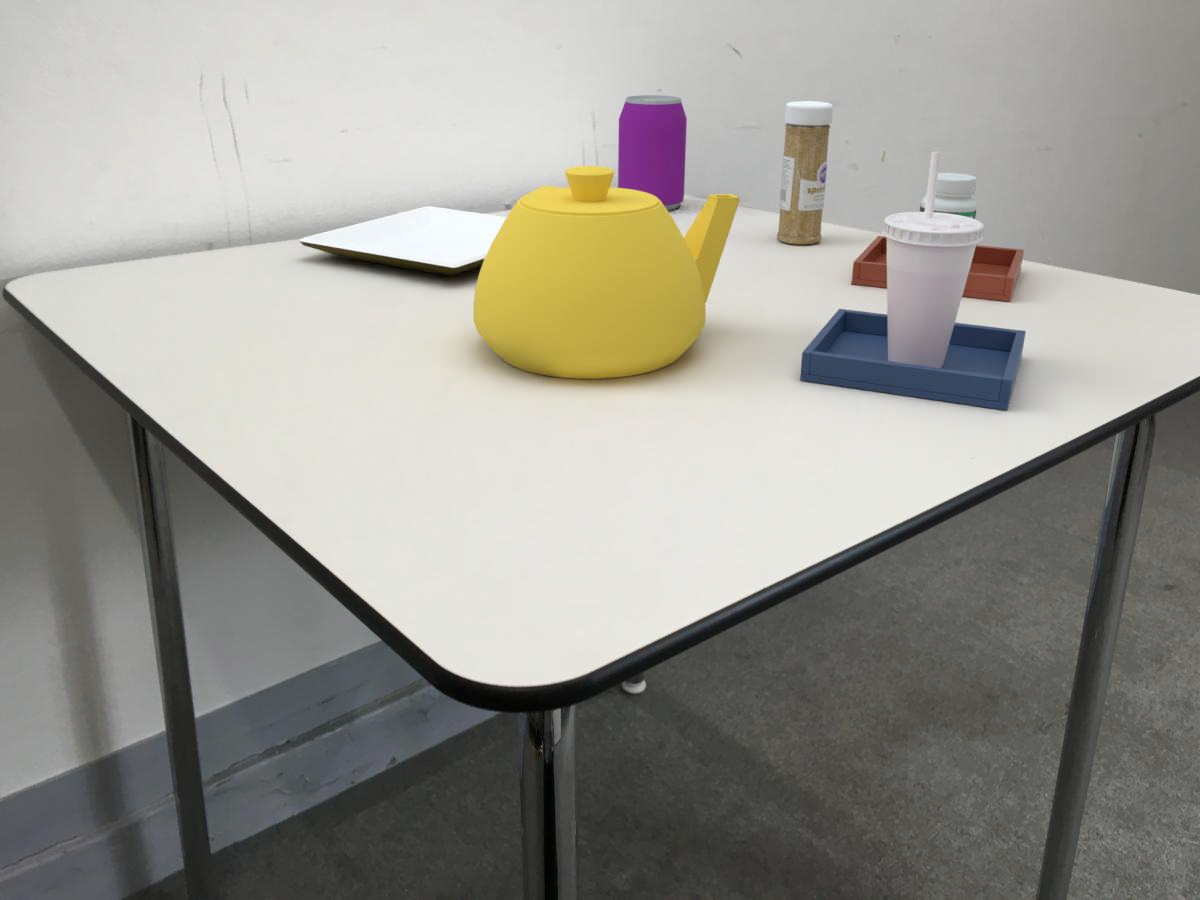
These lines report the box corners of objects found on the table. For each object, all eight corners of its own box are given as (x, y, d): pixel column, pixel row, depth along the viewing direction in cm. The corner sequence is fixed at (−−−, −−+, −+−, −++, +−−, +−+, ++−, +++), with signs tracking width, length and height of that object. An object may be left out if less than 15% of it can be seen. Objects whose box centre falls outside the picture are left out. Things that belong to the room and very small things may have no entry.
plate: (299, 260, 102) (296, 238, 101) (428, 224, 117) (427, 205, 116) (456, 288, 93) (454, 265, 92) (574, 246, 108) (574, 225, 107)
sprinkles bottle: (818, 247, 108) (830, 106, 103) (772, 243, 109) (782, 104, 104) (823, 237, 112) (836, 101, 107) (779, 234, 113) (789, 99, 108)
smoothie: (920, 342, 79) (946, 143, 73) (984, 369, 74) (1018, 157, 68) (848, 354, 76) (869, 149, 71) (910, 383, 71) (938, 164, 65)
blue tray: (1021, 357, 78) (1025, 330, 77) (1007, 410, 68) (1012, 380, 67) (836, 333, 82) (839, 308, 82) (799, 380, 73) (802, 352, 72)
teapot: (525, 401, 69) (520, 198, 64) (435, 321, 85) (425, 153, 80) (789, 359, 77) (804, 175, 72) (662, 293, 93) (667, 138, 87)
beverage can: (688, 201, 129) (692, 95, 124) (677, 214, 122) (681, 102, 118) (625, 198, 131) (626, 93, 126) (611, 210, 124) (612, 100, 119)
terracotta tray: (1020, 271, 100) (1024, 249, 99) (1009, 301, 91) (1013, 278, 90) (875, 256, 105) (877, 235, 104) (851, 284, 96) (853, 261, 95)
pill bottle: (951, 281, 94) (965, 183, 91) (902, 272, 97) (913, 176, 94) (976, 272, 98) (990, 176, 94) (927, 262, 101) (939, 169, 97)
